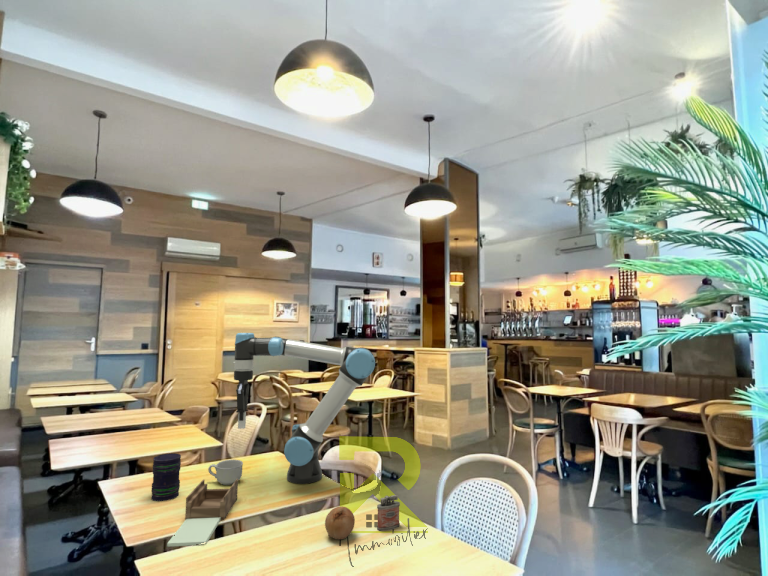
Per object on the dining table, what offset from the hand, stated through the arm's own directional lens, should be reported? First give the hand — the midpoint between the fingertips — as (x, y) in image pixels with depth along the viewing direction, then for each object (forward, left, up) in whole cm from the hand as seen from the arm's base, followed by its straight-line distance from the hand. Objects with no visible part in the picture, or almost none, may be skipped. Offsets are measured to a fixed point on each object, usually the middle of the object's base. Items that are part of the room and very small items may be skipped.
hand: (241, 428), depth 179 cm
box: (+5, +19, -24) cm, 31 cm away
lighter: (-57, +38, -25) cm, 73 cm away
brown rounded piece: (-41, +43, -25) cm, 64 cm away
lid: (+5, +37, -25) cm, 45 cm away
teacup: (+8, -9, -25) cm, 27 cm away
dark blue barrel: (+27, +5, -25) cm, 37 cm away
